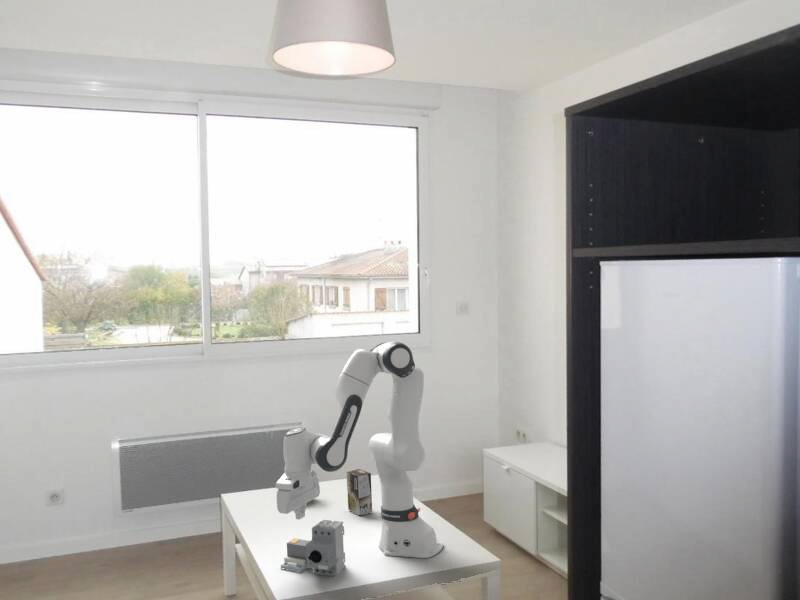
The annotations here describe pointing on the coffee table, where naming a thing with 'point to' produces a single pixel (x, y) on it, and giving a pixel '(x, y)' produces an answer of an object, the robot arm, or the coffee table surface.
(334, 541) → the circuit breaker
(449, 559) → the coffee table surface
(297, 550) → the module
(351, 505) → the coffee box
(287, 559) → the panel
